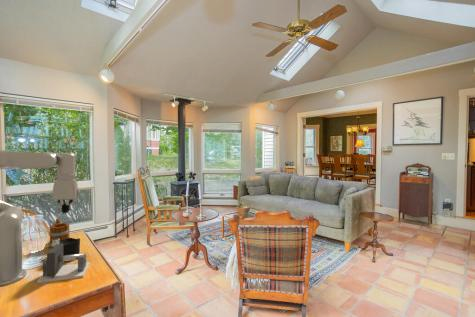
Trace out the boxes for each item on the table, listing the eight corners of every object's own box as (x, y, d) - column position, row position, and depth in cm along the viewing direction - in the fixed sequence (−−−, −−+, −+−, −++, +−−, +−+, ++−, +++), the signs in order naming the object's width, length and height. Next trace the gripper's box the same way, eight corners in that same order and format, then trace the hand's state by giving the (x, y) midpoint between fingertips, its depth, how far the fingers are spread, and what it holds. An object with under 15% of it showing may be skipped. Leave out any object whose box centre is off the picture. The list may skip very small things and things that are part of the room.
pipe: (42, 276, 110) (42, 260, 110) (47, 271, 115) (47, 255, 114) (83, 271, 116) (83, 255, 115) (86, 266, 120) (86, 251, 120)
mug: (50, 251, 138) (49, 226, 137) (46, 242, 149) (46, 219, 149) (72, 246, 145) (72, 222, 145) (67, 238, 157) (67, 216, 156)
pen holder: (78, 252, 137) (78, 236, 136) (81, 258, 130) (81, 240, 130) (57, 257, 130) (57, 240, 130) (60, 264, 123) (60, 245, 123)
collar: (47, 276, 108) (46, 253, 107) (56, 265, 118) (56, 243, 118) (54, 275, 109) (54, 252, 109) (63, 264, 119) (63, 243, 119)
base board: (36, 283, 106) (36, 281, 106) (48, 269, 118) (48, 267, 118) (83, 277, 112) (83, 274, 112) (90, 264, 124) (90, 262, 124)
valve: (48, 250, 139) (49, 258, 130) (48, 239, 138) (49, 246, 129) (62, 247, 143) (64, 254, 134) (62, 236, 143) (64, 243, 134)
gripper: (45, 177, 114) (44, 214, 115) (80, 178, 119) (79, 213, 119) (52, 176, 121) (51, 210, 122) (85, 176, 126) (84, 210, 126)
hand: (65, 212), depth 121 cm, fingers closed
